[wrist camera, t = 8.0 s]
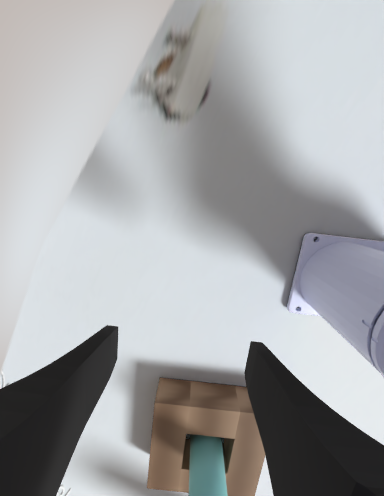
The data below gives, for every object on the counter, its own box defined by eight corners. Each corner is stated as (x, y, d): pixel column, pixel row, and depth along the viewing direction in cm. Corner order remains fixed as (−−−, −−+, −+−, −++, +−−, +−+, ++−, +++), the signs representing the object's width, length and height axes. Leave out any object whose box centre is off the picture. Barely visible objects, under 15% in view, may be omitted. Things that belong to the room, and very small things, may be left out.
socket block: (265, 389, 24) (275, 415, 21) (247, 466, 27) (253, 499, 24) (159, 377, 24) (154, 402, 21) (152, 456, 27) (146, 488, 24)
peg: (213, 408, 25) (220, 505, 17) (224, 430, 25) (236, 532, 18) (185, 417, 25) (180, 516, 17) (197, 438, 26) (198, 542, 18)
